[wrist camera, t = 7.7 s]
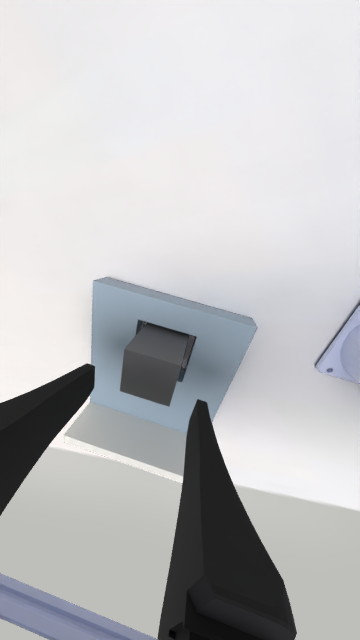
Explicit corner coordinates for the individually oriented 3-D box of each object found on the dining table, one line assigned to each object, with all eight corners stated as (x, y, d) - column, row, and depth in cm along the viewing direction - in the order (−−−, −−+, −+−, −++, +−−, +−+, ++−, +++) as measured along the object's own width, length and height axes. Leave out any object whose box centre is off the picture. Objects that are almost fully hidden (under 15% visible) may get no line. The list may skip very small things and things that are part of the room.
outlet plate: (251, 318, 15) (275, 356, 10) (201, 429, 22) (198, 489, 16) (106, 277, 16) (52, 291, 11) (99, 395, 23) (64, 442, 17)
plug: (190, 327, 17) (181, 365, 11) (181, 361, 18) (168, 409, 13) (152, 316, 17) (124, 348, 11) (146, 351, 19) (119, 393, 13)
